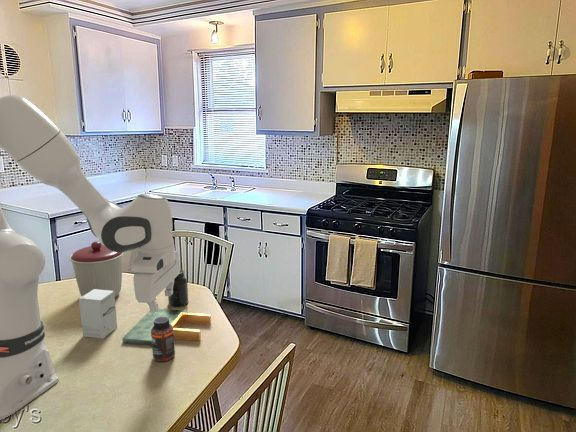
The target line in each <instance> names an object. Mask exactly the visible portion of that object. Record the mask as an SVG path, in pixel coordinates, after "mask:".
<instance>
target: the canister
mask: <svg viewBox="0 0 576 432" xmlns="http://www.w3.org/2000/svg"><path fill="white" fill-rule="evenodd" d="M124 254H125V252H114V251H111V250H109V249H108V248H107V247H106V246H105V245H104V244H103V243H102V242H101V241H98V240H97V241H93V242H92V243H91V244H90V246H85V247H83V248H80V249H78V250H76V251H74V252H73V253H72V254H70V255H69V256H68V257H69V258H68V260H69V261H70V262H71V264H72V268H73V272H74V276H75V279H76V284H77V287H78V291H79V294H80V297H82V296H84V295H85V294H87V293H89V292H90V291H92V290H93V289H98V290H110V291H114V295H115V298H116V297H118V295H119V294H120V292H121V290H122V282H123V281H122V280H123V279H122V278H123V256H124Z"/></svg>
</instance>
